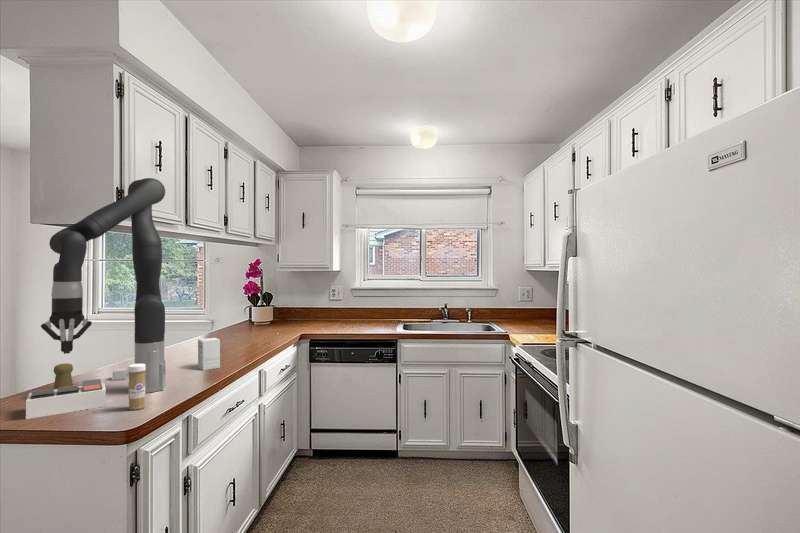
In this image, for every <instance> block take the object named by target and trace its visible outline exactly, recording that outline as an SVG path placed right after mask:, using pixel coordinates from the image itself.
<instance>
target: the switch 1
mask: <svg viewBox="0 0 800 533" xmlns="http://www.w3.org/2000/svg"><path fill="white" fill-rule="evenodd" d="M53 389H54V388H45V389H37V390H33V391H31V393H32V396H41V395H48V394H54V390H53Z"/></svg>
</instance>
